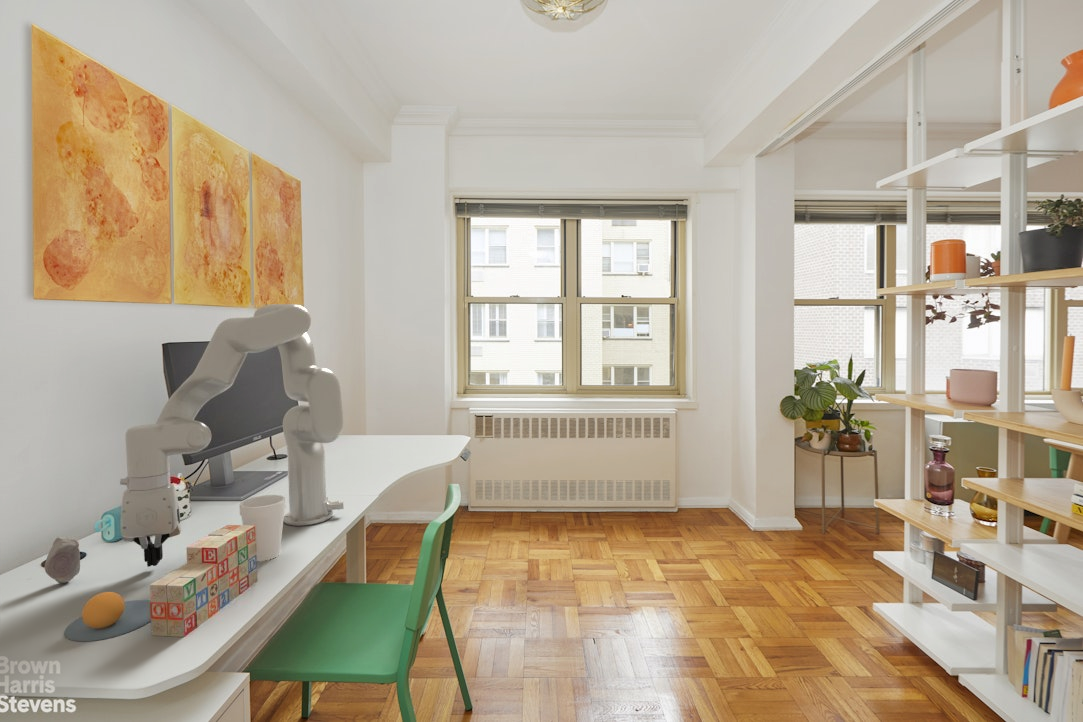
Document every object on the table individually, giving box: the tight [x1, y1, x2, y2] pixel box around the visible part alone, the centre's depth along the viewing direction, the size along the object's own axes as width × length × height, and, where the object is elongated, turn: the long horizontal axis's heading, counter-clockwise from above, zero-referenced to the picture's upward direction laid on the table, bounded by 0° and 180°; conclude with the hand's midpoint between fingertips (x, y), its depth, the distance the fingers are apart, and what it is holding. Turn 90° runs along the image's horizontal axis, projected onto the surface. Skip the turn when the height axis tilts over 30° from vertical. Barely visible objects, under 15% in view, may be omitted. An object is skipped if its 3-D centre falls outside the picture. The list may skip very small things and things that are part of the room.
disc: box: [64, 599, 151, 643], centre depth 102 cm, size 14×14×1 cm
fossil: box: [44, 536, 81, 584], centre depth 116 cm, size 6×4×10 cm, turn 148°
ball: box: [81, 591, 125, 629], centre depth 99 cm, size 6×6×6 cm
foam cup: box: [239, 494, 286, 562], centre depth 129 cm, size 10×9×13 cm
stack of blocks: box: [149, 524, 259, 638], centre depth 106 cm, size 21×6×12 cm, turn 175°
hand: (153, 563), depth 122 cm, fingers closed
